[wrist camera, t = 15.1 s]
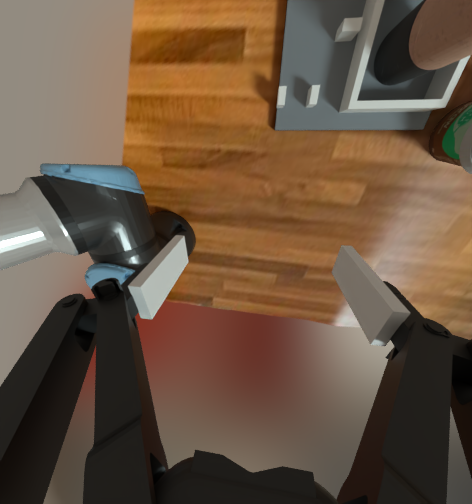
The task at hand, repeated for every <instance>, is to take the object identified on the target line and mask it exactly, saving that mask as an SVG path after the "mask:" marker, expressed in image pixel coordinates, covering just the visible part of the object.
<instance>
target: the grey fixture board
mask: <svg viewBox="0 0 472 504" xmlns="http://www.w3.org/2000/svg"><path fill="white" fill-rule="evenodd" d="M422 1H423V0H385V1H384V5H383V8H382V12H381V16H380V19H379V23H378V26H377V30H376V34H375V37H374V41H373V44H372V48H371V52H370V55H369V59H368V63H367V66H366V70H365V73H364V77H363V81H362V84H361V88H360V91H359V95H358V99H357V101H374V100H424V97H425V95H426V93H427V90H428V88H429V86H430V83H431V81H432V79H433V76H434V74H435V72H436V70H434V71H431V72H429V73H426V74H423V75H421V76H418V77H415V78H413V79H410V80H407V81H405V82H402V83H399V84H396V85H391V86H387V85H383V84H381V83H380V82H379V81H378V80H377V79H376V77H375V73H374V60H375V56H376V53H377V51H378V49H379V47H380V45H381V43H382V41H383V40H384V38H385V37H386V36H387V35H388V33H389V32H390V31H391V30H392V29H393V28H394V27H395V26H396V25H397V24H398V23H399V22H401V21H402V20H403V19H404V18H405V17H406V16H407V15H408V14H409V13H410V12H411V11H412V10H413V9H414V8H415V7H416V6H417V5H419V4H420V3H421V2H422ZM365 3H366V0H287V9H286V20H285V30H284V40H283V50H282V61H281V71H280V81H279V86H287V89H286V97H285V105H284V107H283V108H277V112H276V122H275V130H421V129H424V126H425V124H426V122H427V120H428V118H429V115H430V113H431V111H432V110H431V111H426V112H358V113H339V110H340V106H341V102H342V98H343V94H344V90H345V86H346V82H347V77H348V73H349V69H350V65H351V61H352V57H353V53H354V49H355V44H356V40H357V36H358V33H357V34H356V36H355V37H354V38H353V39H352V40H351V41H340V42H335V37H336V32H337V29H338V28H339V26H340V25H341V23H342V22H343V20H344V19H345V18H358V17H362V16H363V12H364V7H365ZM312 85H320V89H319V94H318V100H317V104H316V105H315V106H314V107H311V108H305V107H306V101H307V95H308V90H309V89H310V87H311V86H312Z"/></svg>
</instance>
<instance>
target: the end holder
mask: <svg viewBox="0 0 472 504" xmlns="http://www.w3.org/2000/svg"><path fill="white" fill-rule="evenodd" d="M384 1H385V0H366V3H365V7H364V12H363V16H362V17H363V20H362V24H361V28H360V31H359V32H358V36H357V40H356V44H355V49H354V53H353V57H352V61H351V65H350V69H349V73H348V77H347V82H346V86H345V90H344V94H343V98H342V102H341V106H340V110H339V113H358V112H426V111H431V110H436V109H441V108H445V107H446V105H447V103H448V101H449V99H450V97H451V95H452V92H453V90H454V88H455V86H456V84H457V82H458V80H459V78H460V76H461V74H462V72H463V70H464V68H465V66H466V64H467V61H468V59H469V57H470V56H467V57H465V58H463V59H461V60H458V61H456V62H454V63H451V64H449V65H447V66H444V67H442V68H439V69H437V70H436V72H435V74H434V76H433V79H432V81H431V83H430V86H429V88H428V90H427V93H426V95H425V97H424V100H374V101H357V99H358V95H359V91H360V88H361V84H362V81H363V77H364V73H365V70H366V66H367V63H368V59H369V55H370V52H371V48H372V44H373V41H374V37H375V34H376V30H377V26H378V23H379V19H380V16H381V12H382V8H383V5H384Z"/></svg>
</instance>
